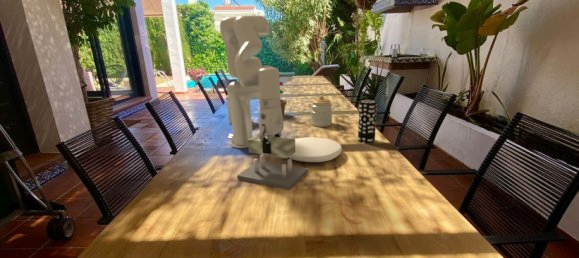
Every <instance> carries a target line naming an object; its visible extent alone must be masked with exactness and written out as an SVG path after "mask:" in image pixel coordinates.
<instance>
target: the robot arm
mask: <svg viewBox="0 0 579 258" xmlns="http://www.w3.org/2000/svg"><path fill="white" fill-rule="evenodd" d="M219 31H220V36H221V37H222V41H223V43H224V45H225V48H226V59H227V69H228V73H229V76H230V77H232V78H234V79H237V80H236V81H232V82H230V83H229V84H228V85H227V88H226V90H227V91H226V92H227V95H228V96H229V101H230V106H231V117H232V124H231V126H232V134H231V133H229V134H228V136H227V139H228V140H231V142H230V146H231V147H233V148H235V149H247V148H248V149H249V146H248V139H250V138H252V137H253V124H252V121H253V120H252V111H251V106H250V107H249V106H248V105H247V104H246V103H245V101H247V100H250V101H254V100H258V103H259V108H260V109H259V117H258V118H259V119H258V120H259V132H258V134H257V135H258V137H259V138H260V140H261V143H262V148H263V153H266V154H271V143H269V142H270V137H271V136H274V137H282V132H283V131H284V116H283V115H282V109H281V104H280V99H281V94H280V90H281V87H280V86H281V85H280V82H281V81H280V79H279V75H280V70H279V68H277V67H273V66H271V65H263V64H262V61H261V59H260V58H259V57H257V55H258V54H259V53H260V52H261V50H262V48H263V44H262V41H261V39H260V38H266V37H267V36H269V33H270V24H269V21H268V19H267V18H266V17H265V16H263V15H241V16H229V17H225V18H222V19H221V20H220V22H219ZM265 136H266V137H267V139H266V138H265Z"/></svg>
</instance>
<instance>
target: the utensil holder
mask: <svg viewBox="0 0 579 258" xmlns="http://www.w3.org/2000/svg"><path fill="white" fill-rule="evenodd" d="M225 98H226V104H227V115H228V116H227V117H228V123H229V124H230V125H232V117H231V106H230V101H229V96H228V94H227V95H226V96H225ZM245 103H246V104H247V105H248V106H249V107H250V108H251V100H247V101H245Z"/></svg>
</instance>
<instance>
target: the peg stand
mask: <svg viewBox="0 0 579 258" xmlns="http://www.w3.org/2000/svg"><path fill="white" fill-rule="evenodd" d="M259 155H260V156H259V157H260V158H259V159H260V160H259V159H258V158H253V164H252V165H250V166H249V167H247V168H246V169H245V170H243V171H241V172H240V173H237V175H236V177H237V180H241V181H245V182H250V183H255V184H261V185H264V186H269V187H272V188H273V187H274V188H279V189H283V190H288V191H290V190H291V189H293V187H294V186H296V185H297V184H298V183H299V182H300V181H301V180H302V179H303V178H304V177H305V176H306V175H307V174H308V173H309V169H308V168H307V167H301V166H295V165H293V161H292V160H293V159H290V158H289V159H288V158H287V164H286V163H277V162H271V161H266V160H265V155H263V154H259Z"/></svg>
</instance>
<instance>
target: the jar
mask: <svg viewBox="0 0 579 258" xmlns="http://www.w3.org/2000/svg"><path fill="white" fill-rule="evenodd" d="M331 102H332V101H331V100H330V99H329V98H328V97H327V98H326V97H324V95H319V97H317V98H314V99H312V101H311V104H310V107H311V108H310V124H311V126H313V127H318V128H319V127H320V128H325V127H326V128H327V127H330V126H332V125H333V124H332V123H333V109H332V108H333V104H332V103H331Z"/></svg>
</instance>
